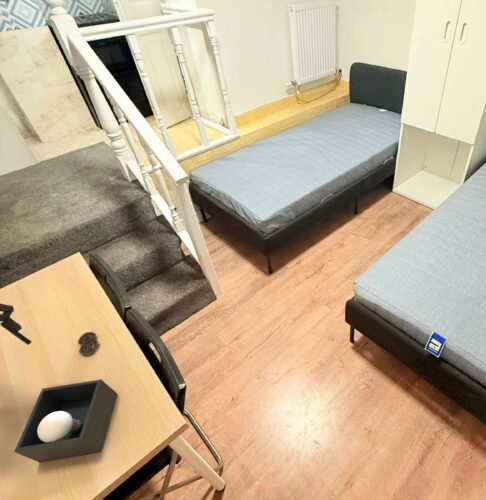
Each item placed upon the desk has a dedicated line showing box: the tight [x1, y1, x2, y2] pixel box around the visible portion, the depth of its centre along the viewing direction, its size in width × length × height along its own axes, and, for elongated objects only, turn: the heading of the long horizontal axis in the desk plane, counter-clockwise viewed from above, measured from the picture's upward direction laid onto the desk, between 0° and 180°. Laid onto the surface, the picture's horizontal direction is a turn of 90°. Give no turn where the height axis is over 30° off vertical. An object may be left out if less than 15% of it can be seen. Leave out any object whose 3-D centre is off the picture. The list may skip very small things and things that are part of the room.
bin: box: [13, 378, 118, 463], centre depth 78 cm, size 13×13×9 cm
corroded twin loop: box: [77, 331, 99, 355], centre depth 96 cm, size 5×8×1 cm, turn 35°
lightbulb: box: [37, 411, 81, 443], centre depth 75 cm, size 6×6×11 cm
